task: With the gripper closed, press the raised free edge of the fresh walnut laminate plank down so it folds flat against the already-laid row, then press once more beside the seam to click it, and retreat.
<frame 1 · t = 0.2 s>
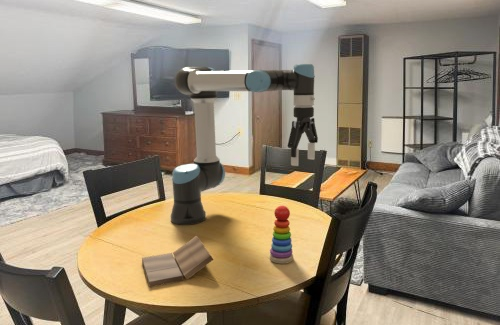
hand: (303, 162, 161), 28 cm above the table, fingers open, 13 cm apart
laid row: (180, 268, 137), on the table
plank: (192, 256, 137), point 3 cm above the table, hinge at 30.0°
stacking toy: (281, 260, 142), on the table
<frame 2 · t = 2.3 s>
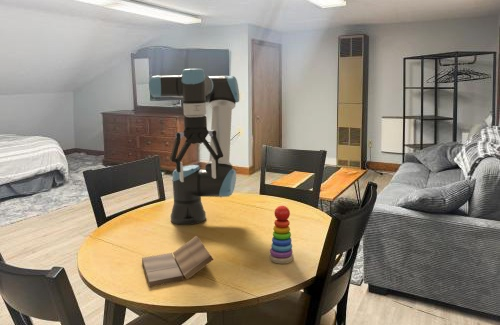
hand: (198, 179, 146), 26 cm above the table, fingers open, 11 cm apart
nothing on the table moved.
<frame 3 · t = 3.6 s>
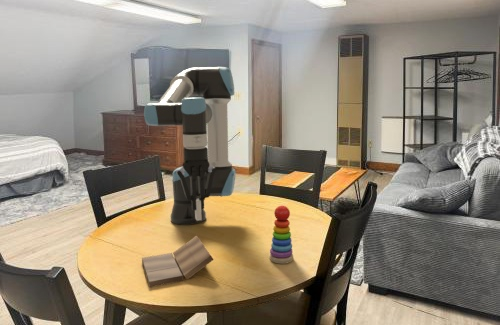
hand: (198, 219, 136), 16 cm above the table, fingers closed
nothing on the table moved.
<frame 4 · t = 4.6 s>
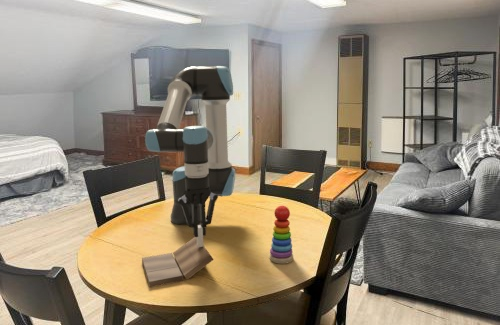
hand: (200, 245, 138), 7 cm above the table, fingers closed
plank: (192, 256, 137), point 3 cm above the table, hinge at 30.0°, touching gripper
everything else where it was.
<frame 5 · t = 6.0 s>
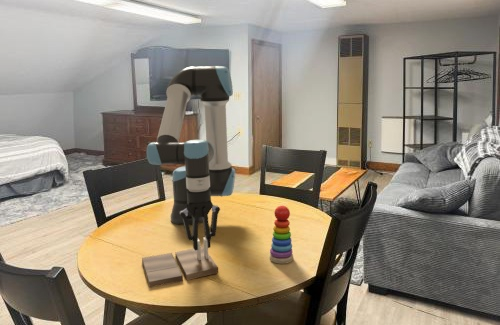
hand: (202, 257, 139), 2 cm above the table, fingers closed on plank, 2 cm apart
plank: (195, 261, 138), point 1 cm above the table, hinge at 3.0°, touching gripper
everything else where it was.
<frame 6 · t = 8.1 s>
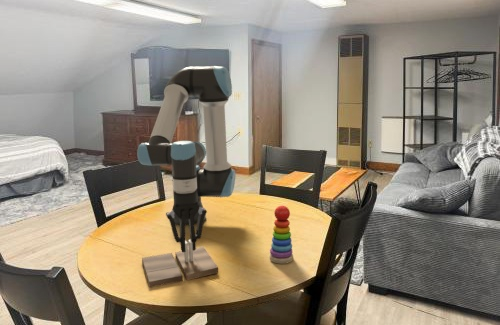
hand: (188, 260, 137), 2 cm above the table, fingers closed
plank: (195, 261, 138), point 1 cm above the table, hinge at 3.0°, touching gripper
everything else where it was.
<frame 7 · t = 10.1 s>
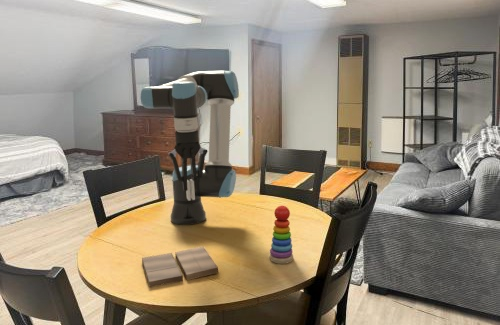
hand: (190, 198, 142), 20 cm above the table, fingers closed
plank: (195, 261, 138), point 1 cm above the table, hinge at 3.0°
everything else where it was.
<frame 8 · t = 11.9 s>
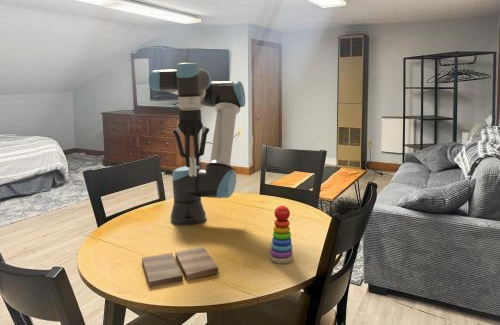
hand: (192, 175, 149), 26 cm above the table, fingers closed
nothing on the table moved.
at the end: plank at +3° (first picture: +30°); the gripper is holding nothing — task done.
